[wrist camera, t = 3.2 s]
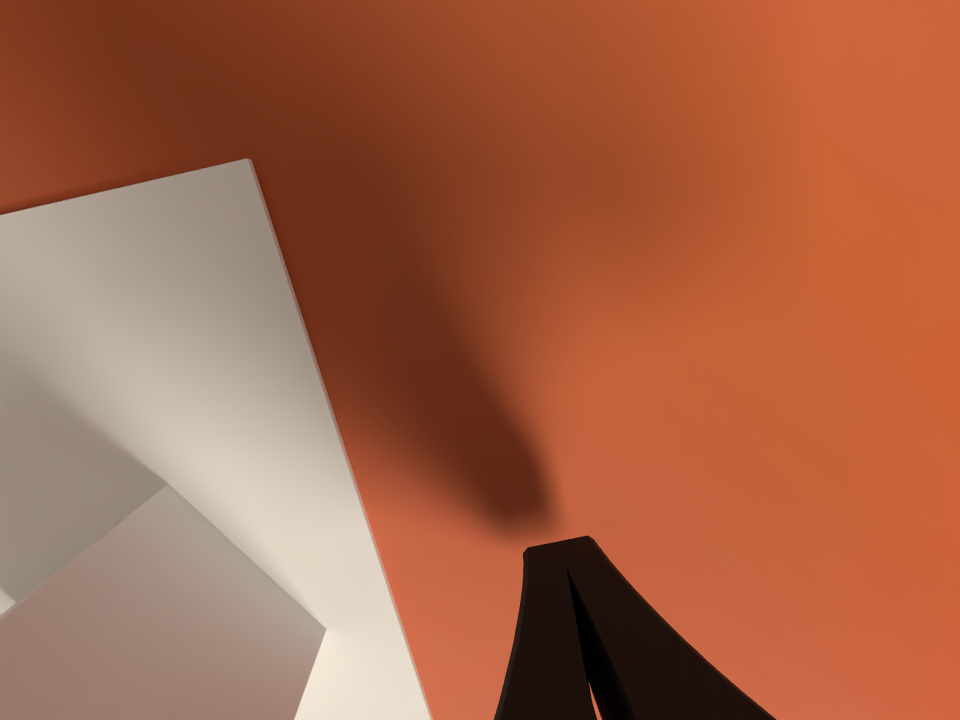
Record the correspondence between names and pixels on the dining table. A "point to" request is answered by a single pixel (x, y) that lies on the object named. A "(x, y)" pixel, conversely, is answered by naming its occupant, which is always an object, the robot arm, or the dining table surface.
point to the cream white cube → (157, 629)
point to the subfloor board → (187, 412)
